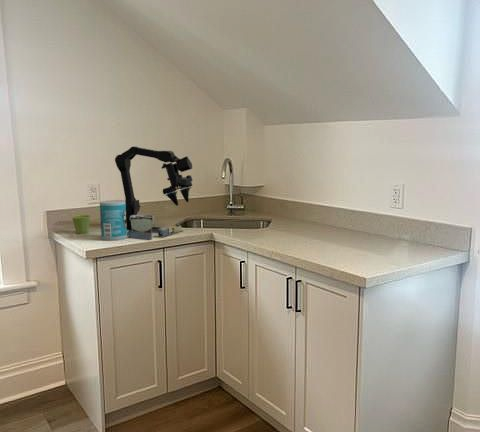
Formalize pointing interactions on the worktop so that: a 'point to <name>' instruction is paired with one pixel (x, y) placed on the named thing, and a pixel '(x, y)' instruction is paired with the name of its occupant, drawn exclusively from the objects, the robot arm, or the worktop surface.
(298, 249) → the worktop surface
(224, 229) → the worktop surface
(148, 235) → the bracket
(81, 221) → the plant pot
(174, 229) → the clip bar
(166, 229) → the clip rail
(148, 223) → the food container
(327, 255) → the worktop surface
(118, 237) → the food can
